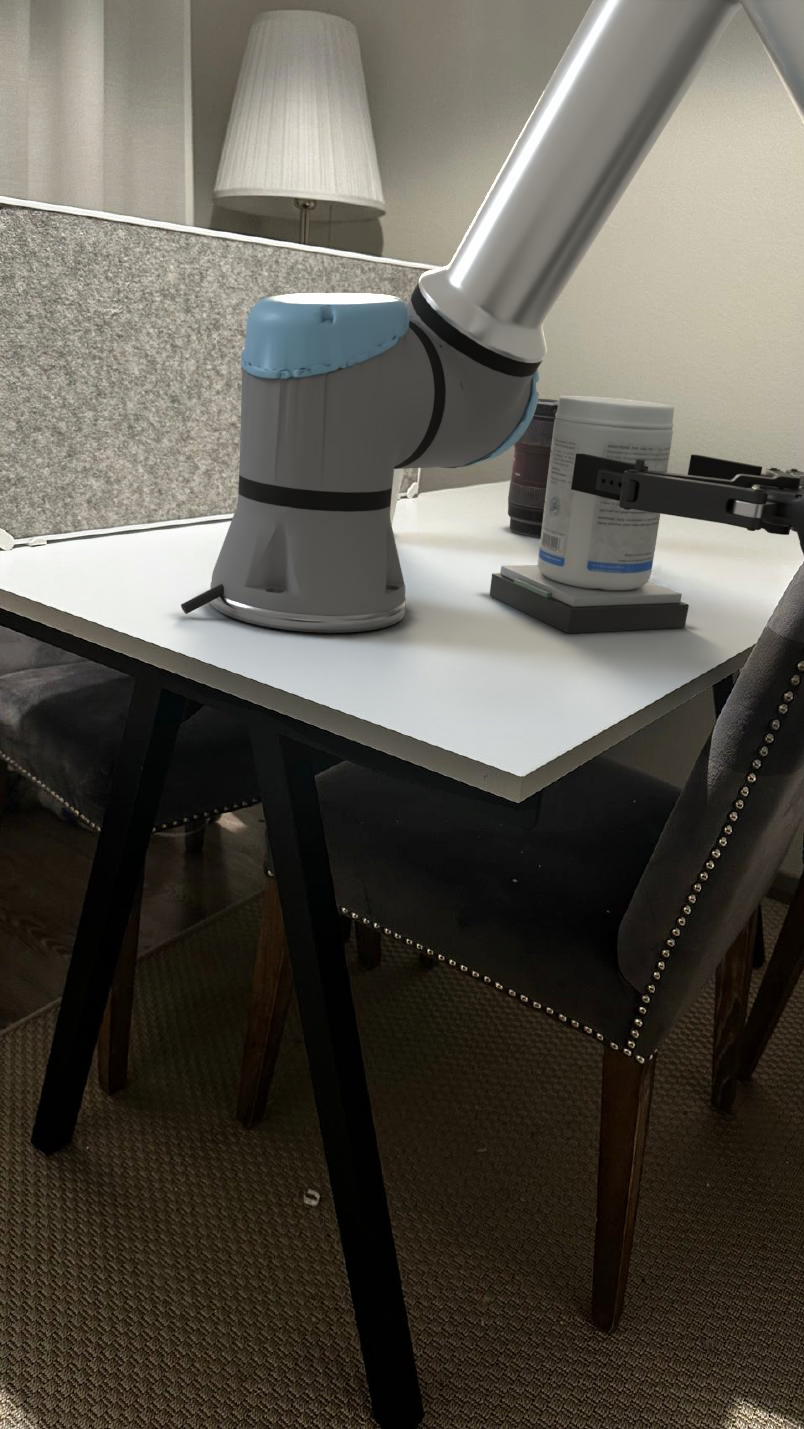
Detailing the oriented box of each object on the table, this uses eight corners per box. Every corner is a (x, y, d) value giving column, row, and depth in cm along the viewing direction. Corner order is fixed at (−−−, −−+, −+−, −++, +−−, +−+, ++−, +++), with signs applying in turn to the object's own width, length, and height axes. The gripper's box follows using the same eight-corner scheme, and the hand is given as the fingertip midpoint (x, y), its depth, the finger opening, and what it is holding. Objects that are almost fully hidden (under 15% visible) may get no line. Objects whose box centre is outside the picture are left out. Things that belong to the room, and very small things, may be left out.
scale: (567, 633, 86) (572, 599, 85) (489, 595, 96) (493, 564, 95) (685, 627, 91) (691, 595, 91) (599, 592, 101) (603, 562, 100)
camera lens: (490, 525, 130) (506, 395, 125) (549, 526, 134) (566, 399, 129) (524, 539, 124) (541, 402, 119) (584, 540, 127) (604, 407, 122)
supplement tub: (658, 579, 95) (688, 405, 90) (635, 600, 87) (667, 409, 82) (551, 561, 99) (575, 392, 94) (519, 579, 90) (543, 394, 85)
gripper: (754, 591, 66) (516, 522, 81) (960, 568, 80) (724, 514, 96) (780, 464, 63) (529, 419, 79) (987, 464, 78) (741, 426, 93)
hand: (636, 471), depth 87 cm, fingers open, 13 cm apart
